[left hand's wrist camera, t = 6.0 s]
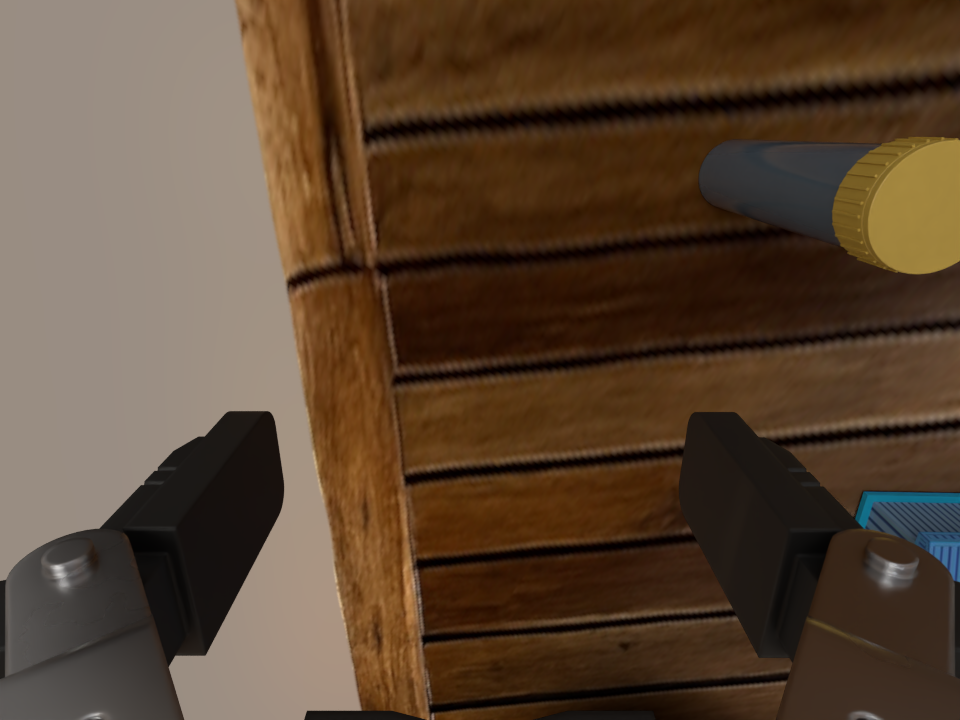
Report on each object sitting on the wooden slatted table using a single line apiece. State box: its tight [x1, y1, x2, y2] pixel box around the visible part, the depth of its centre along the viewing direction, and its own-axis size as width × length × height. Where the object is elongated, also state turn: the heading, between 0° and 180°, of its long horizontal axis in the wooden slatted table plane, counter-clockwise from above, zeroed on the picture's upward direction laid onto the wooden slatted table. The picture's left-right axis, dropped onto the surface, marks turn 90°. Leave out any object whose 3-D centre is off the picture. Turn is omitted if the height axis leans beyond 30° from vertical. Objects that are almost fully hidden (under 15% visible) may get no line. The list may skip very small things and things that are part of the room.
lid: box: [832, 137, 960, 274], centre depth 22 cm, size 5×5×2 cm
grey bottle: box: [699, 139, 881, 248], centre depth 29 cm, size 4×4×18 cm
